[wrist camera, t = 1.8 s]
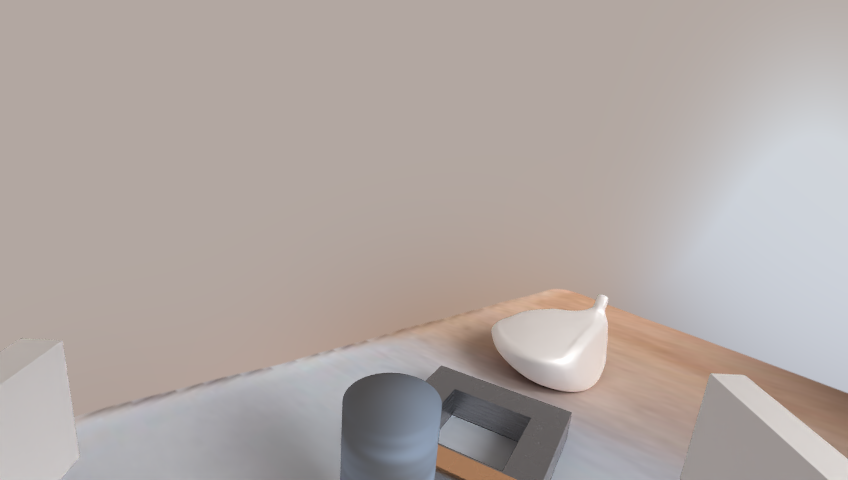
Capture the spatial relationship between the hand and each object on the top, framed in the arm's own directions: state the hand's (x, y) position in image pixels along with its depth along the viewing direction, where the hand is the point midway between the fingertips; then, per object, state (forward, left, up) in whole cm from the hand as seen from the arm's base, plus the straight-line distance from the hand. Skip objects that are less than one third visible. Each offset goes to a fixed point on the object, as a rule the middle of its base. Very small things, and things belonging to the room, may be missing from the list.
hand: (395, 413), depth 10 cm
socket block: (-6, -21, -19) cm, 29 cm away
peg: (0, -10, -19) cm, 22 cm away
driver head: (-16, -34, -19) cm, 42 cm away
